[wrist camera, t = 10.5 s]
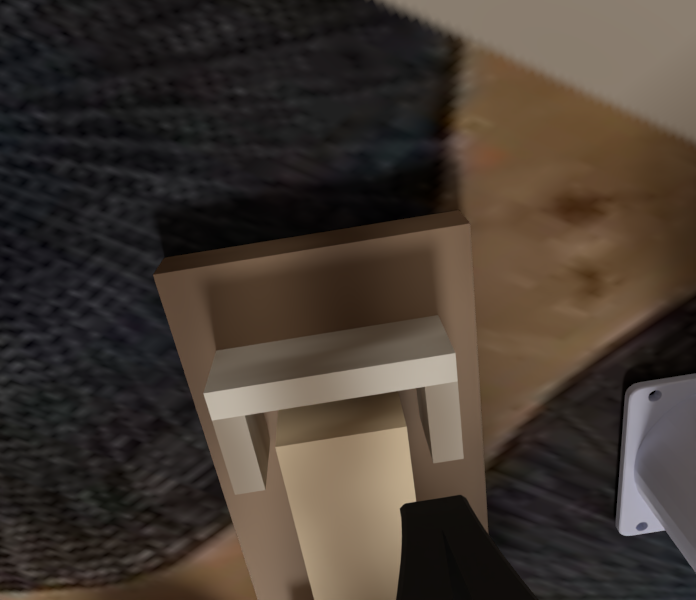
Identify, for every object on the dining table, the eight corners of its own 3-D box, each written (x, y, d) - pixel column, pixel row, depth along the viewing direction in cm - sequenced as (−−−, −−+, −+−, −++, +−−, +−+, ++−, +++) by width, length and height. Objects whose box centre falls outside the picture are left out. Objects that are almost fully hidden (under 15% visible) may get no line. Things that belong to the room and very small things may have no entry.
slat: (393, 372, 20) (406, 426, 17) (427, 631, 26) (441, 702, 23) (280, 390, 20) (275, 447, 17) (340, 645, 26) (344, 716, 23)
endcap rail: (458, 209, 19) (493, 251, 15) (488, 657, 29) (514, 746, 26) (164, 258, 19) (129, 309, 15) (297, 687, 29) (295, 779, 26)
